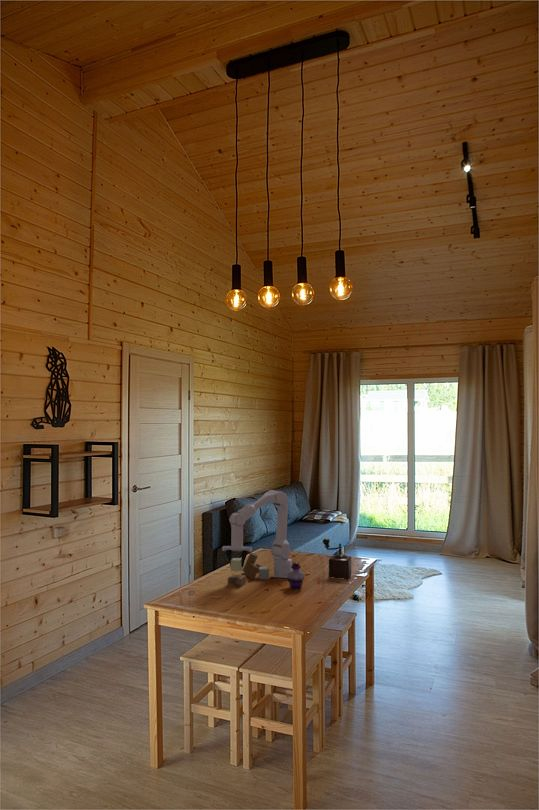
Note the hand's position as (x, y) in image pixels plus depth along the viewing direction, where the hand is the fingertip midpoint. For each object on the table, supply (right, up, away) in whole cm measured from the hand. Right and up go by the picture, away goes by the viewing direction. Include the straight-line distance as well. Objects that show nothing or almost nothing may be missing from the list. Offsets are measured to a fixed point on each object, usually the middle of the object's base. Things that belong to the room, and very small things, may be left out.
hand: (236, 566), depth 263 cm
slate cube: (+13, -10, +12) cm, 20 cm away
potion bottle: (+29, -9, -6) cm, 30 cm away
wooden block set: (+7, -10, +18) cm, 22 cm away
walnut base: (0, -9, 0) cm, 9 cm away
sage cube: (0, -2, 0) cm, 2 cm away
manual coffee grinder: (+50, -10, +17) cm, 54 cm away
